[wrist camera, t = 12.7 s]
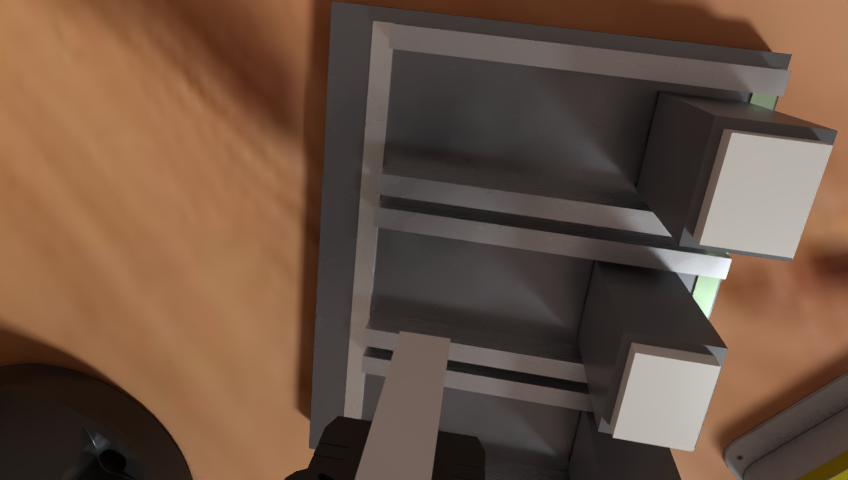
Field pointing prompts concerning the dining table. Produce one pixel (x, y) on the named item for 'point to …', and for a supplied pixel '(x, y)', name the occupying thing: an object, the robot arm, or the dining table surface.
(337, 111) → the panel
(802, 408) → the emergency button
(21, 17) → the dining table surface
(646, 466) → the breaker far
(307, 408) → the dining table surface
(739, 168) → the block
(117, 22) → the dining table surface
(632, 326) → the block
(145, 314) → the dining table surface
